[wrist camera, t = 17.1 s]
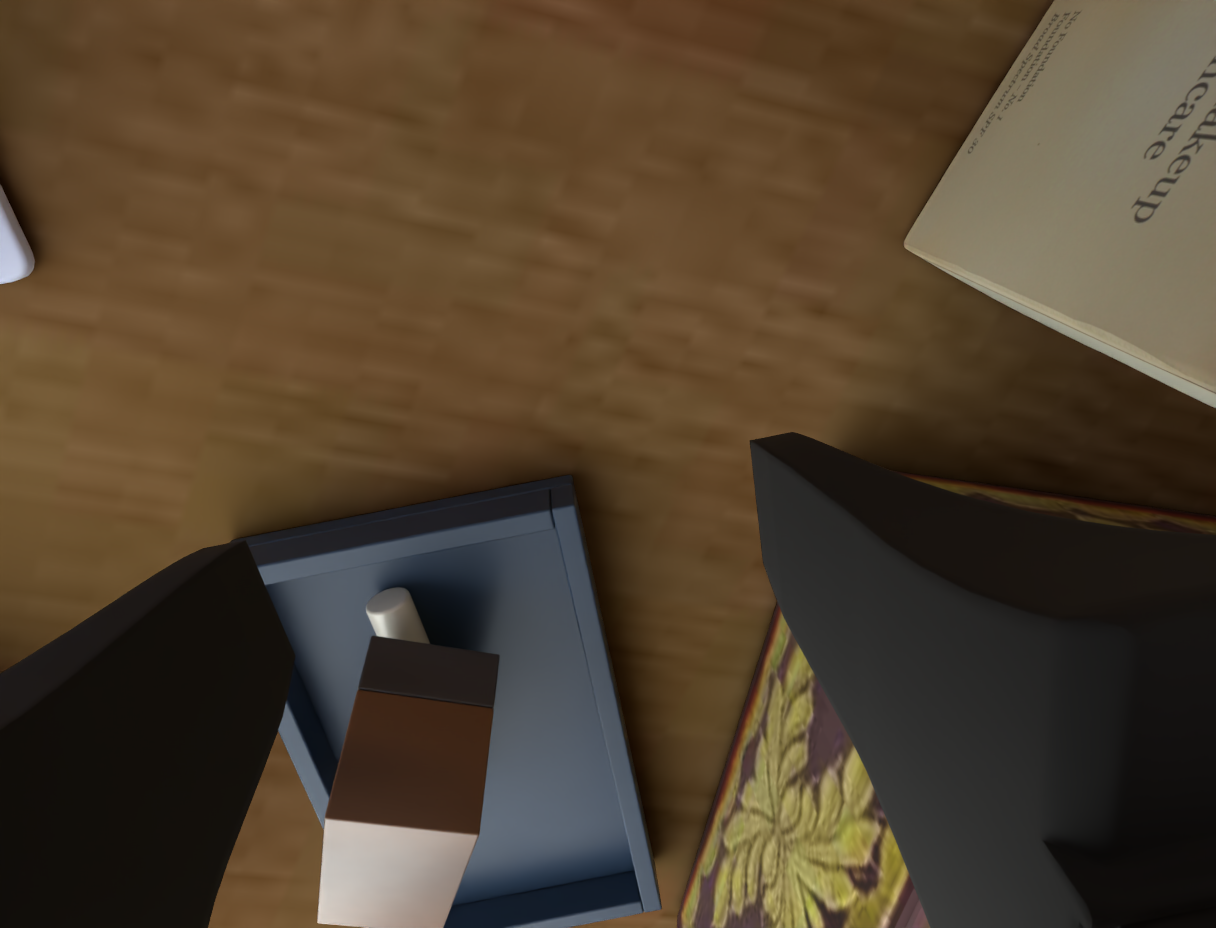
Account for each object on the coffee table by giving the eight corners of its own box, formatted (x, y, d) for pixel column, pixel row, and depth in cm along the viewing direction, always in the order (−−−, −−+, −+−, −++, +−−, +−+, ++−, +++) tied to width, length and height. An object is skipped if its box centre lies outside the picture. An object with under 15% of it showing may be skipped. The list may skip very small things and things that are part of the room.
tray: (393, 913, 28) (384, 965, 26) (231, 539, 21) (205, 575, 20) (654, 862, 28) (662, 910, 26) (571, 473, 21) (574, 504, 20)
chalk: (431, 665, 23) (395, 690, 22) (395, 580, 22) (357, 604, 21) (452, 682, 22) (415, 707, 22) (417, 594, 21) (376, 619, 20)
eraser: (463, 770, 25) (440, 934, 21) (356, 757, 24) (316, 923, 21) (500, 653, 20) (479, 835, 17) (371, 634, 20) (323, 818, 16)
